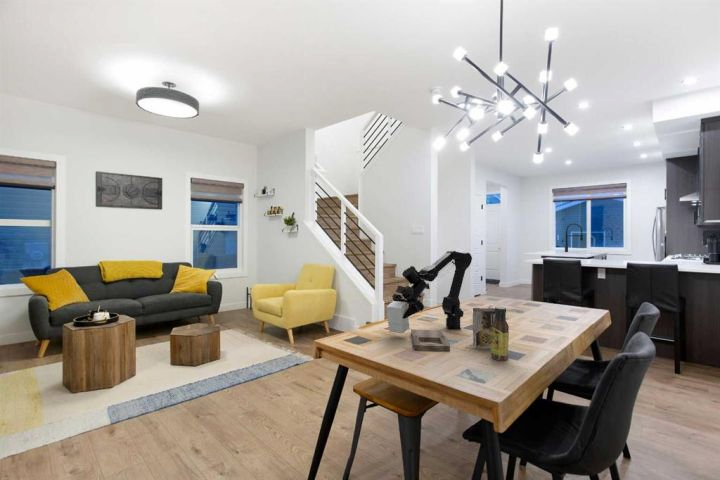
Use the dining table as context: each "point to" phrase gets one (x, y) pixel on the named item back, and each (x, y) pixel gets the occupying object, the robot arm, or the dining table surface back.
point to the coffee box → (482, 327)
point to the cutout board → (429, 340)
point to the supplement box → (397, 317)
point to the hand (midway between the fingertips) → (397, 316)
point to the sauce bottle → (500, 335)
